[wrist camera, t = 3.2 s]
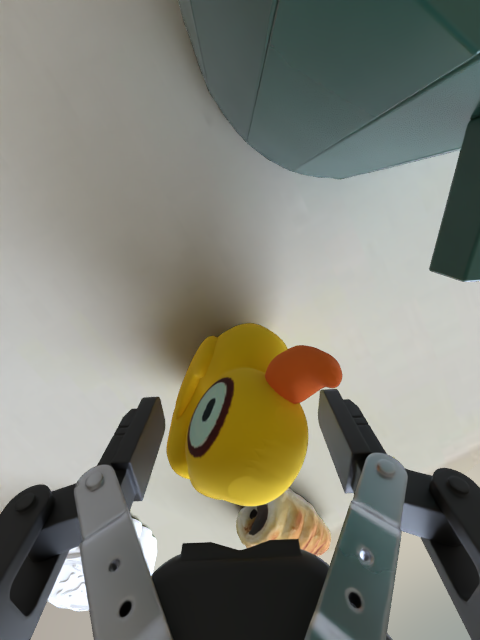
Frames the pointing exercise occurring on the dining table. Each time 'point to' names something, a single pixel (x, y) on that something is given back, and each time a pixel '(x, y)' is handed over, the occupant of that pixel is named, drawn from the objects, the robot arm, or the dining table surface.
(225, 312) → the dining table surface
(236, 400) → the duckling
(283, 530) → the pastry
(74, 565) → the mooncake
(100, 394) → the dining table surface
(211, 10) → the pot
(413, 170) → the dining table surface
